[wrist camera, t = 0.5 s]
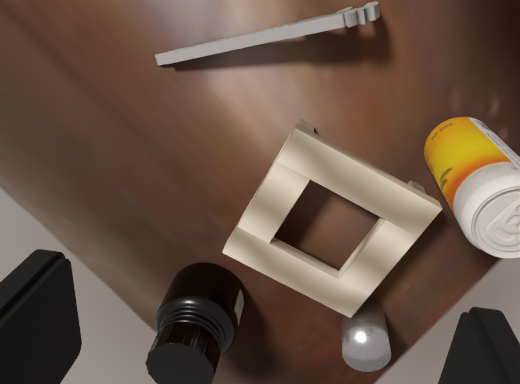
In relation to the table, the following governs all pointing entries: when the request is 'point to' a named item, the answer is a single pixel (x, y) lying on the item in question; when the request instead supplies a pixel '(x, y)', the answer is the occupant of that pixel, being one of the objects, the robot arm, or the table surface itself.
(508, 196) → the beer can
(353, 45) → the table surface
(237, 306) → the ink bottle
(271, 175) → the birch stand
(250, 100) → the table surface
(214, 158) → the table surface
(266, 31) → the caliper
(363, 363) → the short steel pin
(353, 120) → the table surface
